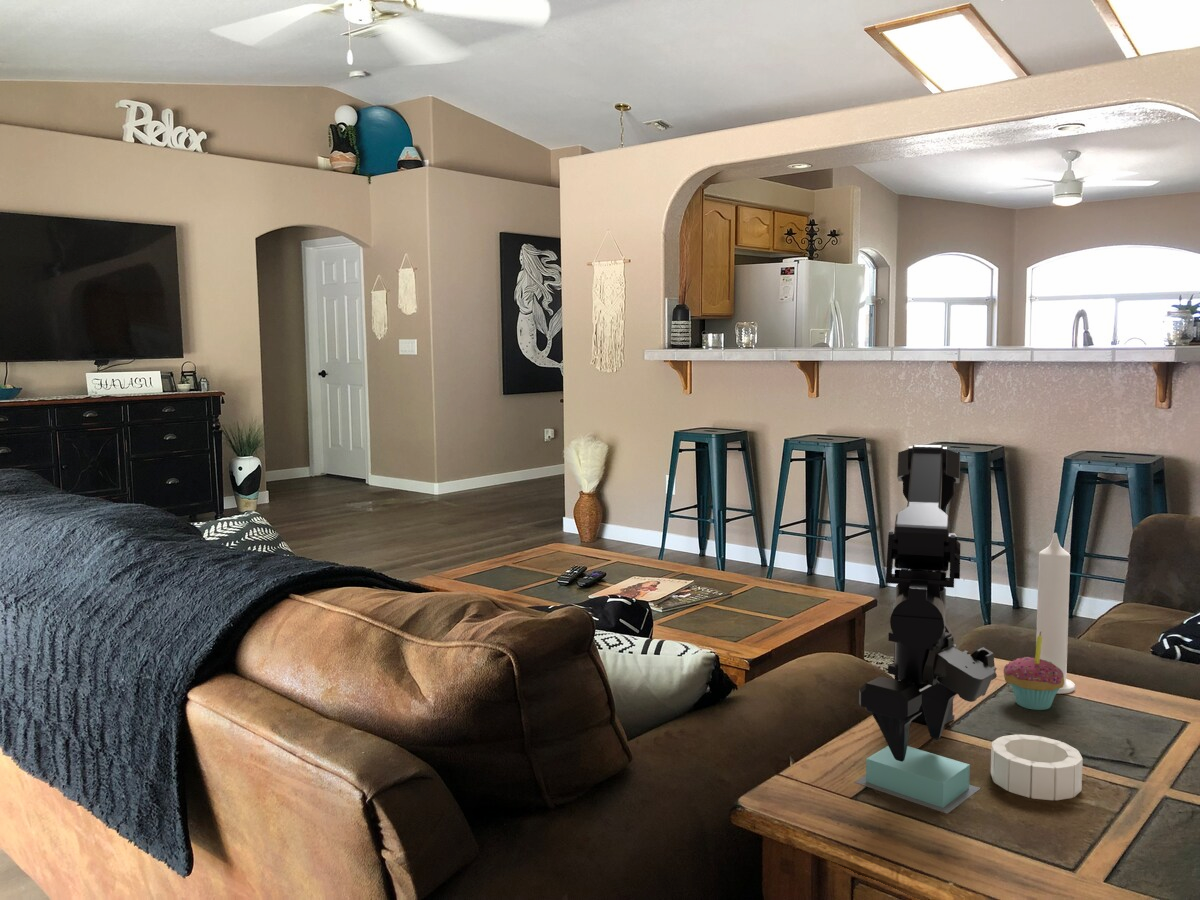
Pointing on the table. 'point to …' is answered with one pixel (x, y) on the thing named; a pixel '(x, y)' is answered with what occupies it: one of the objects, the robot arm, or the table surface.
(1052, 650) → the candle
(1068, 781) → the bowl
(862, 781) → the mat
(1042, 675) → the cupcake
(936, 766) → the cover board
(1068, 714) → the table surface
